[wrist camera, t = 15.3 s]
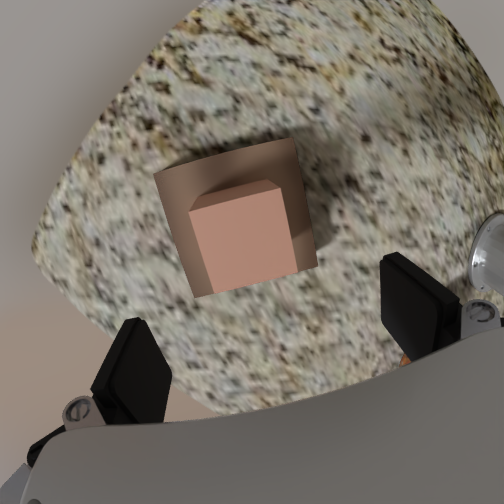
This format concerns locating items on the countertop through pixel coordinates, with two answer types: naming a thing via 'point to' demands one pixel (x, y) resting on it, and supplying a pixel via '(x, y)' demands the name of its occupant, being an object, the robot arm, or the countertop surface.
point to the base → (227, 176)
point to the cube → (243, 235)
